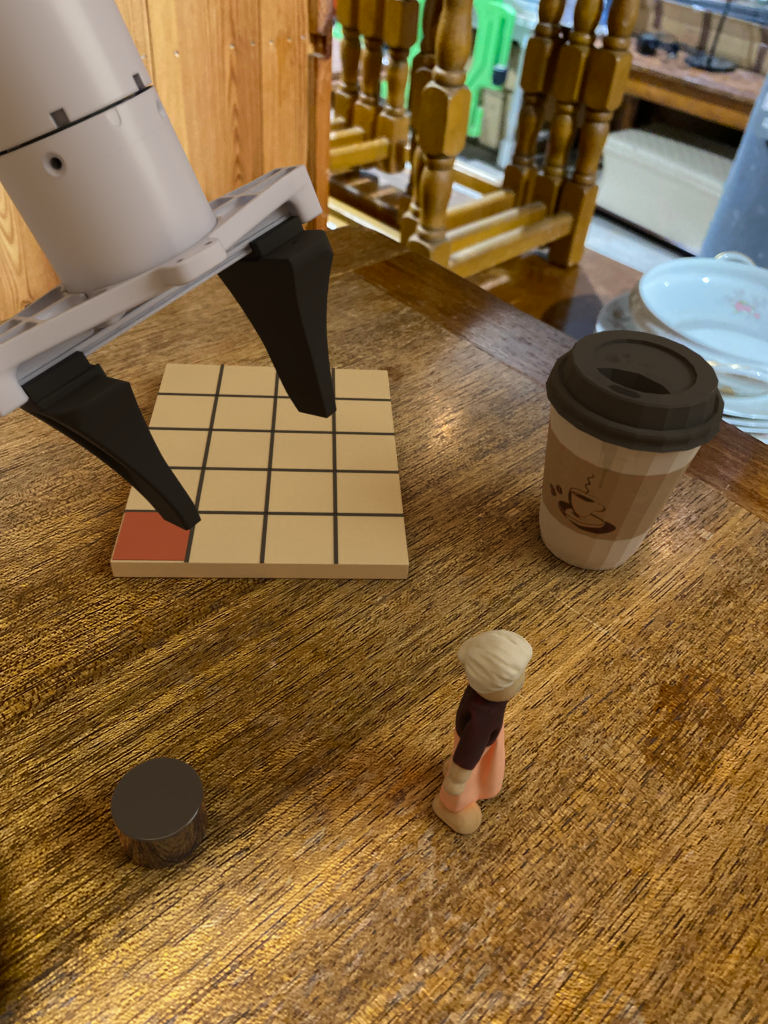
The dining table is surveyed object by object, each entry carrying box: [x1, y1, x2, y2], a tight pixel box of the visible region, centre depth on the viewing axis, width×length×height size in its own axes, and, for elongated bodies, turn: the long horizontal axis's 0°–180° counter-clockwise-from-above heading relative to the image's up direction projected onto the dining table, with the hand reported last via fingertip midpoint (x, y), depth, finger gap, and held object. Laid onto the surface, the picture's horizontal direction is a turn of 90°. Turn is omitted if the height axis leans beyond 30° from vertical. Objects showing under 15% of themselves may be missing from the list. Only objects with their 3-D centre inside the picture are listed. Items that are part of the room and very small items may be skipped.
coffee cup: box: [538, 329, 725, 571], centre depth 54 cm, size 11×11×15 cm
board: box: [109, 363, 410, 580], centre depth 62 cm, size 20×25×2 cm
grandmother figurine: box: [431, 629, 534, 835], centre depth 39 cm, size 8×4×13 cm, turn 171°
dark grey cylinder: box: [110, 757, 209, 869], centre depth 39 cm, size 4×4×3 cm
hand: (253, 462), depth 32 cm, fingers open, 7 cm apart
